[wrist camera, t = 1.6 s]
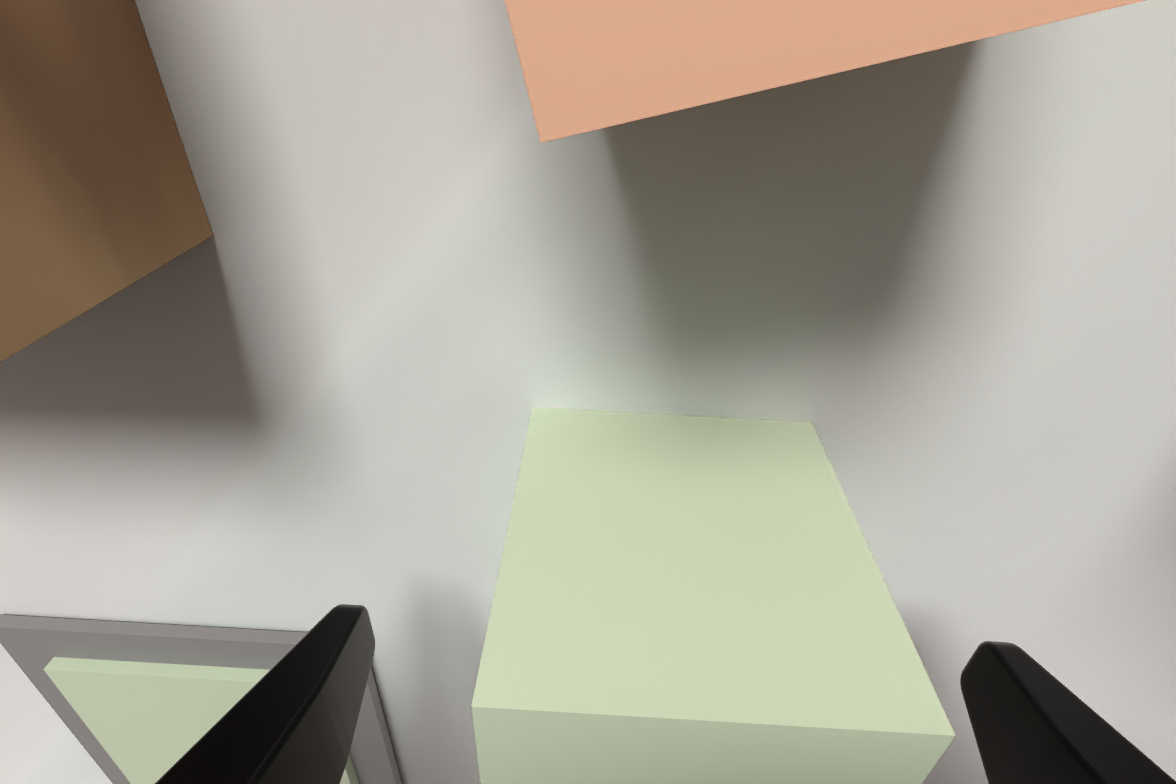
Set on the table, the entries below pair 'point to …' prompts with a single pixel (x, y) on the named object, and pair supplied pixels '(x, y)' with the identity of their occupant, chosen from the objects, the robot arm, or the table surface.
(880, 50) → the terracotta block
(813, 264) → the table surface
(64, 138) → the walnut base
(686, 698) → the sage block
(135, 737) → the tile
